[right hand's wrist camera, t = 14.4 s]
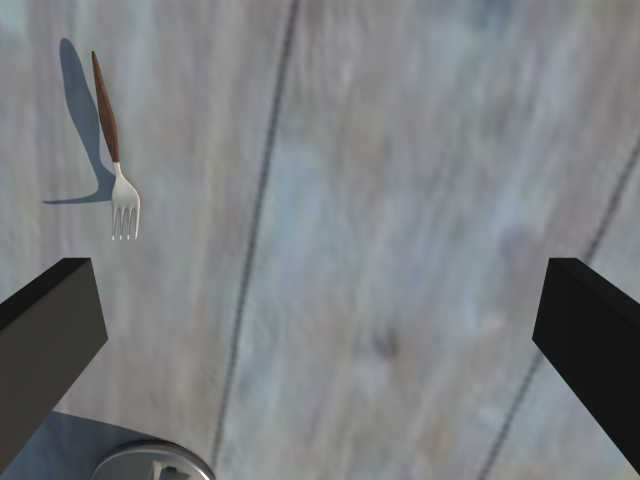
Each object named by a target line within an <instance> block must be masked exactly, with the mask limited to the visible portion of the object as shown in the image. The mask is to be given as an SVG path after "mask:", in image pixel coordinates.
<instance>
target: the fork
mask: <svg viewBox="0 0 640 480" xmlns="http://www.w3.org/2000/svg"><path fill="white" fill-rule="evenodd" d="M92 61H93V70H94V77H95V84H96V92H97V101H98V110H99V117H100V122H101V126H102V130H103V133H104V136H105V140H106V143H107V146H108V149H109V152H110V155H111V158H112V161H113V164H114V167H115V171H116V179H115V183H114V186H113V190H112V197H111V200H112V212H113V233H112V240H113V239H114V232H115V224H116V214H117V210H119V211H120V239H121V237H122V229H123V220H124V211H125V210H127V213H128V239H129V233H130V225H131V215H132V210H133V209H134V210H135V239H136V238H137V230H138V220H139V207H140V200H139V196H138V193H137V192H136V190H135V189H134V188H133V187H132V185H131V184H130V183H129V182H128V181H127V180H126V179H125V178H124V177H123V175H122V174H121V171H120V165H119V153H118V141H117V132H116V125H115V120H114V116H113V113H112V109H111V106H110V103H109V100H108V96H107V93H106V90H105V86H104V83H103V79H102V75H101V72H100V68H99V65H98V61H97V58H96V55H95V52H94V51H92Z"/></svg>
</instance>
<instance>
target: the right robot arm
mask: <svg viewBox="0 0 640 480" xmlns="http://www.w3.org/2000/svg"><path fill="white" fill-rule="evenodd" d="M107 340H108V337H107V332H106V327H105V323H104V318H103V313H102V309H101V304H100V299H99V295H98V290H97V285H96V281H95V276H94V271H93V267H92V262H91V258H63V259H61V260H60V261H59V262H57V263H56V264H55V265H53V266H52V267H50V268H49V269H48V270H46V271H45V272H44V273H42V274H41V275H39V276H38V277H37V278H35V279H34V280H33V281H31V282H30V283H29V284H27V285H26V286H24V287H23V288H22V289H20V290H19V291H18V292H16V293H15V294H13V295H12V296H11V297H9V298H8V299H7V300H5V301H4V302H2V303H1V304H0V475H1V474H2V473H3V472H4V470H5V469H6V468H7V466H8V465H9V464H10V463H11V461H12V460H13V459H14V458H15V456H16V455H17V454H18V453H19V451H20V450H21V449H22V447H23V446H24V445H25V444H26V442H27V441H28V440H29V439H30V437H31V436H32V435H33V434H34V432H35V431H36V430H37V429H38V427H39V426H40V425H41V423H42V422H43V421H44V420H45V418H46V417H47V416H48V415H49V413H50V412H51V411H52V410H53V408H54V407H55V406H56V405H57V403H58V402H59V401H60V399H61V398H62V397H63V396H64V394H65V393H66V392H67V391H68V389H69V388H70V387H71V386H72V384H73V383H74V382H75V380H76V379H77V378H78V377H79V375H80V374H81V373H82V372H83V370H84V369H85V368H86V367H87V365H88V364H89V363H90V362H91V360H92V359H93V358H94V356H95V355H96V354H97V353H98V351H99V350H100V349H101V348H102V346H103V345H104V344H105V343H106V341H107ZM532 340H533V341H534V343H535V344H536V345H537V346H538V348H539V349H540V350H541V351H542V353H543V354H544V355H545V356H546V358H547V359H548V360H549V362H550V363H551V364H552V365H553V367H554V368H555V369H556V370H557V372H558V373H559V374H560V375H561V377H562V378H563V379H564V380H565V382H566V383H567V384H568V386H569V387H570V388H571V389H572V391H573V392H574V393H575V394H576V396H577V397H578V398H579V399H580V401H581V402H582V403H583V405H584V406H585V407H586V408H587V410H588V411H589V412H590V413H591V415H592V416H593V417H594V418H595V420H596V421H597V422H598V423H599V425H600V426H601V427H602V429H603V430H604V431H605V432H606V434H607V435H608V436H609V437H610V439H611V440H612V441H613V442H614V444H615V445H616V446H617V447H618V449H619V450H620V451H621V453H622V454H623V455H624V456H625V458H626V459H627V460H628V461H629V463H630V464H631V465H632V466H633V468H634V469H635V470H636V472H637V473H638V474H639V475H640V304H639V303H638V302H636V301H635V300H633V299H632V298H631V297H629V296H628V295H627V294H625V293H624V292H622V291H621V290H620V289H618V288H617V287H616V286H614V285H613V284H611V283H610V282H609V281H607V280H606V279H605V278H603V277H602V276H601V275H599V274H598V273H596V272H595V271H594V270H592V269H591V268H590V267H588V266H587V265H585V264H584V263H583V262H581V261H580V260H579V259H577V258H549V262H548V267H547V271H546V276H545V281H544V285H543V290H542V295H541V299H540V304H539V309H538V313H537V318H536V323H535V327H534V332H533V337H532ZM90 480H216V479H215V476H214V474H213V472H212V471H211V469H210V468H209V467H208V465H207V464H206V463H205V462H204V461H203V460H202V459H200V458H199V457H198V456H197V455H195V454H194V453H192V452H190V451H188V450H187V449H184V448H182V447H180V446H177V445H174V444H170V443H166V442H161V441H135V442H130V443H126V444H123V445H121V446H118V447H116V448H114V449H113V450H111V451H110V452H108V453H107V454H106V455H105V456H104V457H103V458H102V459H101V461H100V462H99V464H98V466H97V468H96V469H95V471H94V473H93V475H92V477H91V479H90Z"/></svg>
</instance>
